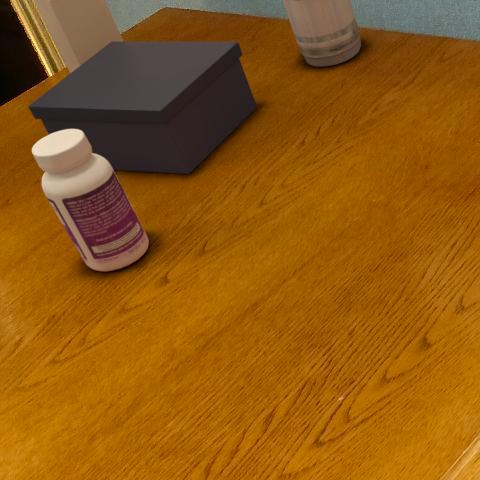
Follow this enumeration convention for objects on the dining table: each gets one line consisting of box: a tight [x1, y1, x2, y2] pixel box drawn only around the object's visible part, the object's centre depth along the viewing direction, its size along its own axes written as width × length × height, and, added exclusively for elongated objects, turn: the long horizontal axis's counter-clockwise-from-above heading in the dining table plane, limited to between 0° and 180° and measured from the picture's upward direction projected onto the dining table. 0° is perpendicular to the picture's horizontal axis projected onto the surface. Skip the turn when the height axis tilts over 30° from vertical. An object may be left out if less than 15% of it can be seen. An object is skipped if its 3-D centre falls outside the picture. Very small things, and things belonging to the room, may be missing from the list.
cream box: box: [33, 0, 125, 74], centre depth 100 cm, size 5×5×10 cm
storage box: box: [27, 41, 258, 175], centre depth 92 cm, size 15×13×6 cm
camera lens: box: [282, 0, 362, 68], centre depth 97 cm, size 6×6×8 cm
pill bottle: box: [31, 129, 150, 272], centre depth 77 cm, size 5×5×10 cm
